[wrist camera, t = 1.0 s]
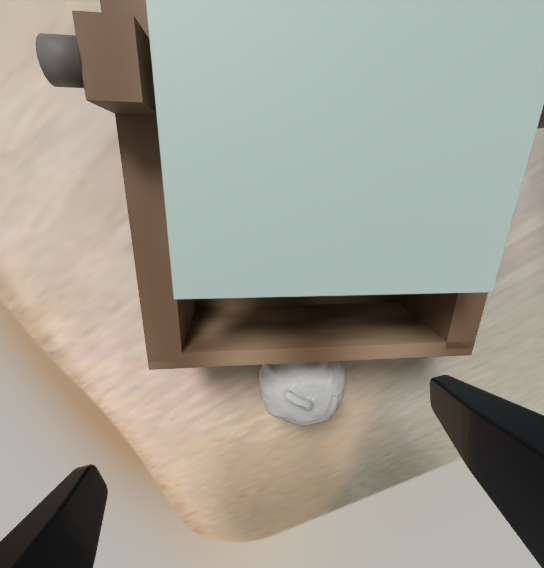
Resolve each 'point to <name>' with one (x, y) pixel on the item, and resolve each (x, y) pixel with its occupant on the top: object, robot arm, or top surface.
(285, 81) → the trapdoor plate
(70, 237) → the top surface
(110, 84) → the frame
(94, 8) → the top surface
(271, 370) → the garlic
